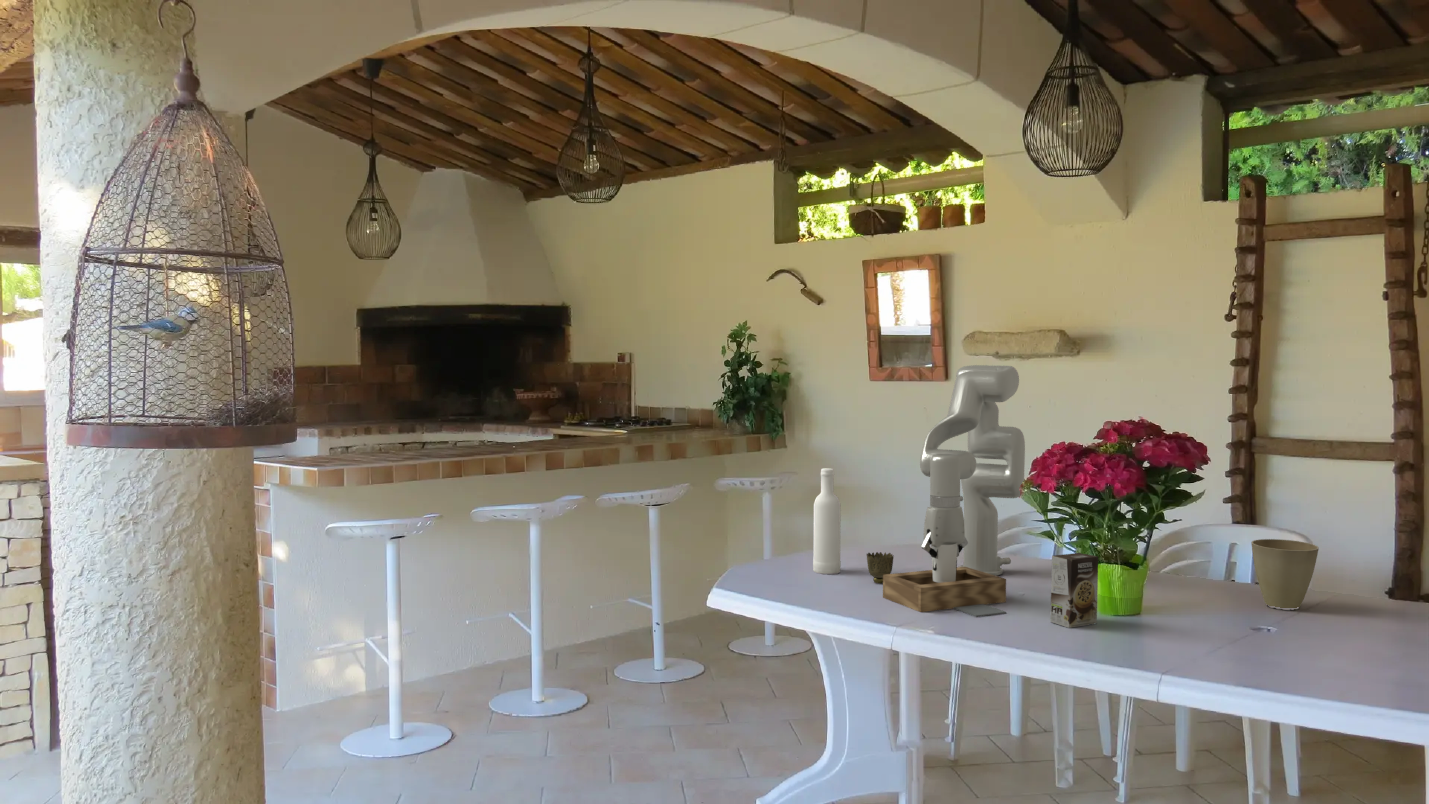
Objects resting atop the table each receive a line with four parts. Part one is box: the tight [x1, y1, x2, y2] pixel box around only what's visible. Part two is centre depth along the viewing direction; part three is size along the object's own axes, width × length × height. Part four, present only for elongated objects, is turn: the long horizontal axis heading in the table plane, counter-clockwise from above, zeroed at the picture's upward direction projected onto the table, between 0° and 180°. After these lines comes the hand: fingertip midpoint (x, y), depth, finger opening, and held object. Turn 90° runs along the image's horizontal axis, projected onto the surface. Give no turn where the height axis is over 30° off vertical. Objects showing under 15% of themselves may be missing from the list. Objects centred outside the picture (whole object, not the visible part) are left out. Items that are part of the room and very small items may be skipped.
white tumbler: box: [930, 542, 958, 583], centre depth 280 cm, size 7×7×10 cm
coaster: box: [953, 604, 1007, 618], centre depth 268 cm, size 9×9×1 cm
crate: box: [882, 566, 1007, 613], centre depth 280 cm, size 26×17×6 cm, turn 114°
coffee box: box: [1049, 552, 1099, 629], centre depth 256 cm, size 9×6×16 cm
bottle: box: [812, 467, 842, 575], centre depth 314 cm, size 8×8×30 cm
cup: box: [866, 551, 895, 585], centre depth 300 cm, size 8×7×8 cm
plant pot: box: [1251, 538, 1320, 608], centre depth 271 cm, size 15×15×16 cm
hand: (944, 571), depth 280 cm, fingers closed on white tumbler, 3 cm apart
